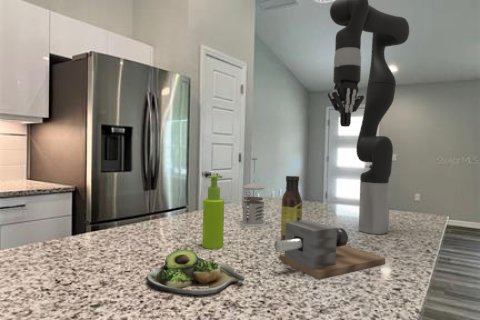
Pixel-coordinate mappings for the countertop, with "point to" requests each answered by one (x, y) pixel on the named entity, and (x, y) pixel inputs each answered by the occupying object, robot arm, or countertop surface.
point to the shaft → (298, 242)
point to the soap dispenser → (213, 217)
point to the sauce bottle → (291, 203)
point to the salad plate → (191, 274)
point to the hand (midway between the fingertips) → (345, 126)
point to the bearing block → (324, 251)
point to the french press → (253, 206)
